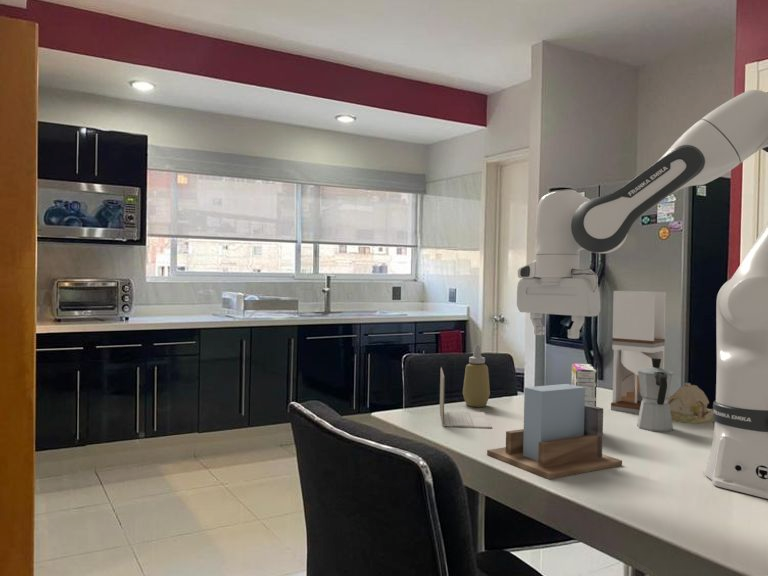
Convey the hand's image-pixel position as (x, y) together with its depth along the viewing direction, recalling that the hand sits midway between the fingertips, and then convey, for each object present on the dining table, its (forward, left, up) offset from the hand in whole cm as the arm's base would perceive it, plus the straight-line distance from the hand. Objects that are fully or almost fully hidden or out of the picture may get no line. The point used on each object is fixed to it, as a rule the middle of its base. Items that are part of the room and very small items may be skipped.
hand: (555, 336), depth 126 cm
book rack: (0, 0, -26) cm, 26 cm away
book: (0, 0, -25) cm, 25 cm away
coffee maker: (+9, -45, -26) cm, 53 cm away
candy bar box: (+14, -24, -26) cm, 38 cm away
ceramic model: (+14, -65, -26) cm, 71 cm away
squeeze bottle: (+52, -21, -26) cm, 62 cm away
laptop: (+38, -6, -26) cm, 47 cm away
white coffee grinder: (+27, -61, -26) cm, 71 cm away
